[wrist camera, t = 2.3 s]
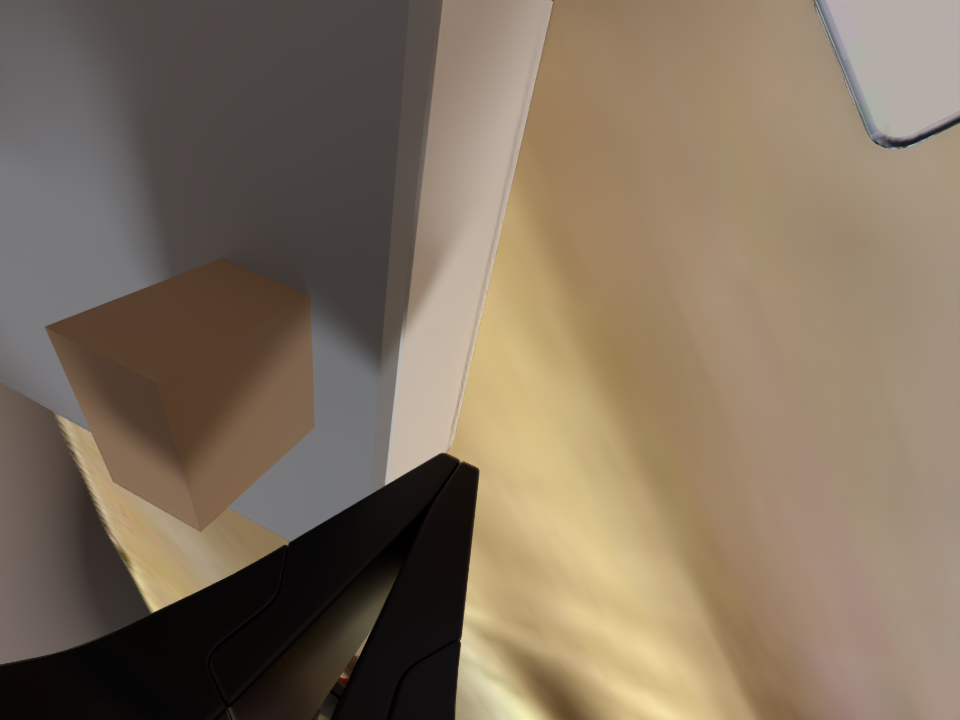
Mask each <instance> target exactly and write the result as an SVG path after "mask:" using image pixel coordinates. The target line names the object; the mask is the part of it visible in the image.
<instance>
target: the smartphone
mask: <svg viewBox="0 0 960 720" xmlns="http://www.w3.org/2000/svg"><path fill="white" fill-rule="evenodd" d="M814 3H815V9H816V13H817V16H818V18H819V21H820V23H821V26H822V28H823V30H824V32H825V34H826V36H827V38H828V41H829V43H830V45H831V47H832V50H833V52H834V54H835V57H836V59H837V62H838V65H839V67H840V70H841V72H842V75H843V78H844V81H845V84H846V87H847V90H848V92H849V94H850V97H851V99H852V102H853V104H854V105H856V106H857V109H858V111H859V114H860V116H861V119H862V121H863V124H864V126H865V129H866V131H867V134H868V135H869V137H870V138H871V140H872V141H874V142H875V143H876V144H878V145H879V146H882V147H884V148H889V149H900V148H905V147H909V146H912V145H915V144H918V143H920V142H922V141H924V140H926V139H928V138H930V137H932V136H934V135H936V134H938V133H940V132H942V131H944V130H946V129H948V128H950V127H952V126H954V125H957V124H959V123H960V0H814Z"/></svg>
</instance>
